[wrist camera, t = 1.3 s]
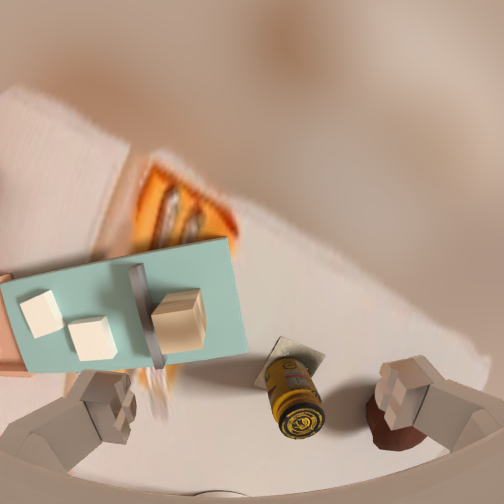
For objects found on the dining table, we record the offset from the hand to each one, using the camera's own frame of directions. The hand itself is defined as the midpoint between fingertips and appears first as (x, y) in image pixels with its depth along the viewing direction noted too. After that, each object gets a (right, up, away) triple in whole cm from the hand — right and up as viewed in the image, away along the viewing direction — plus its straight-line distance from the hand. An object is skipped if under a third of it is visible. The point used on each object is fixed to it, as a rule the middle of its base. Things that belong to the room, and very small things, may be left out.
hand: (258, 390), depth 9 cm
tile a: (-20, -6, +26) cm, 33 cm away
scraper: (-9, -2, +26) cm, 28 cm away
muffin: (+23, -21, +35) cm, 47 cm away
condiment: (+5, -12, +33) cm, 36 cm away
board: (-19, -4, +30) cm, 35 cm away
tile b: (-28, -4, +25) cm, 38 cm away
